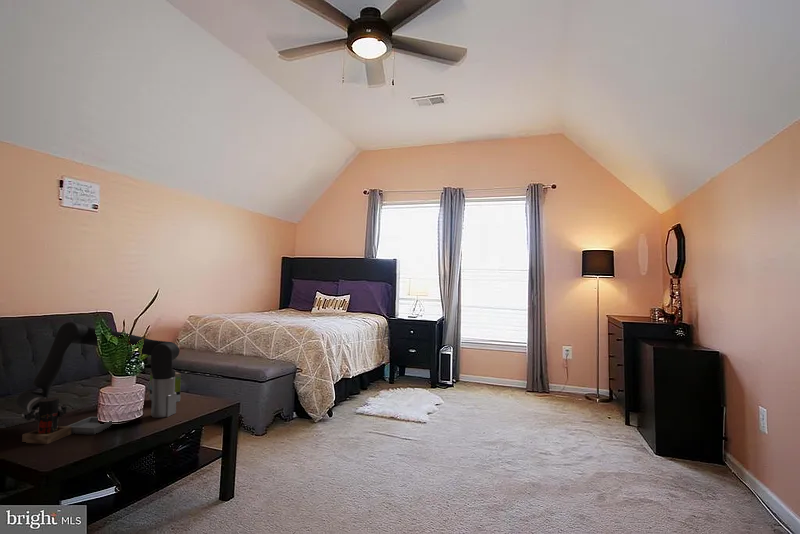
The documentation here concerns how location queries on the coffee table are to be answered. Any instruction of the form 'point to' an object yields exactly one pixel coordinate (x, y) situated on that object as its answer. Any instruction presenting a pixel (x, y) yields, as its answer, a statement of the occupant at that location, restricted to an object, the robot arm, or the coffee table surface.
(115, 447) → the coffee table surface
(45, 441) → the socket block
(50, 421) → the deodorant
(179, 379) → the tea box
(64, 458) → the coffee table surface
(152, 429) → the coffee table surface
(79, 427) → the tray
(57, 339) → the robot arm
